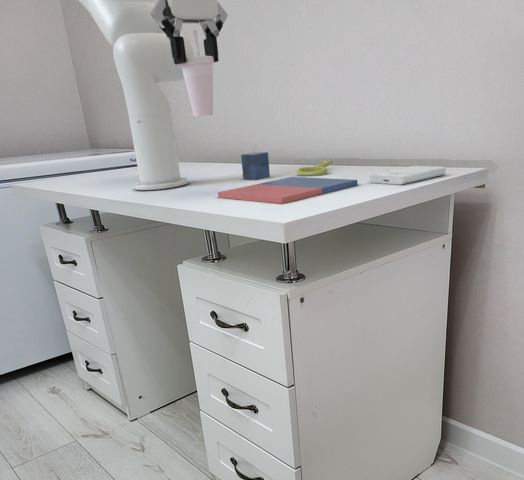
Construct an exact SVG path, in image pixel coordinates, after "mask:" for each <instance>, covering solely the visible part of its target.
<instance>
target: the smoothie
mask: <svg viewBox="0 0 524 480" xmlns="http://www.w3.org/2000/svg"><path fill="white" fill-rule="evenodd" d="M193 38H194V47H195V54H196V56H195V55H194V56H195V57H188V58H186V60H187V61H186V62H185V63H182V64H180V66H181V67H182V71H183V75H184V83H185V87H186V91H187V94H188V99H189V103H190V107H191V110H192V115H193V117H195V118H196V117H203V116H204V117H205V116H213V115H214V79H213V78H214V77H213V76H214V69H213V64H215V62H214V59H213V56H205V55H201V54H200V45H199V37H198V30H197V29H196V30H193Z"/></svg>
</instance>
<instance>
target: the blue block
mask: <svg viewBox="0 0 524 480" xmlns="http://www.w3.org/2000/svg"><path fill="white" fill-rule="evenodd" d="M240 158H241V159H240V160H241V169H242V179H243V180H251V181H252V180H253V181H257V180H262V179H267V178H270V177H271V174H270V173H271V172H270V160H269V152H268V151H266V152H265V151H261V152H260V151H255V152H249V153H243V154H240Z"/></svg>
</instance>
